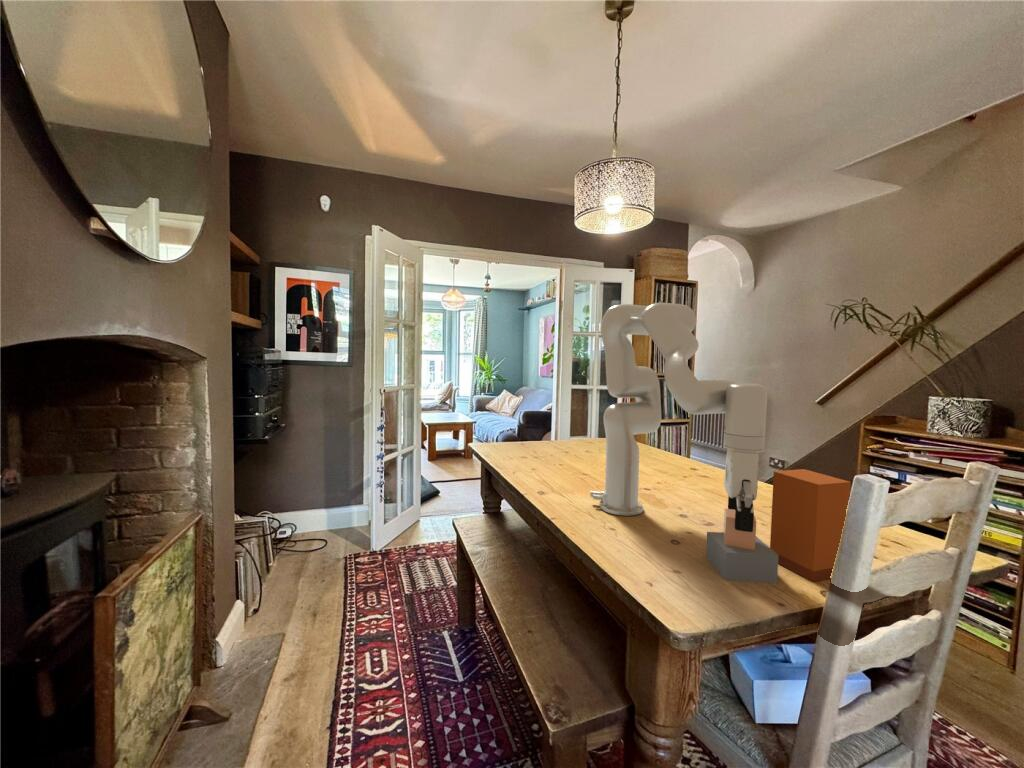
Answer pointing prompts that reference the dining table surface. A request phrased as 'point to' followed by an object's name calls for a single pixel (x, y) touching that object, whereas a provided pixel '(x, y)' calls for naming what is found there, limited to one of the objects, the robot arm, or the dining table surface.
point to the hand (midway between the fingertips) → (739, 521)
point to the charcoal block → (742, 560)
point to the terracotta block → (737, 532)
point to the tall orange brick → (808, 521)
